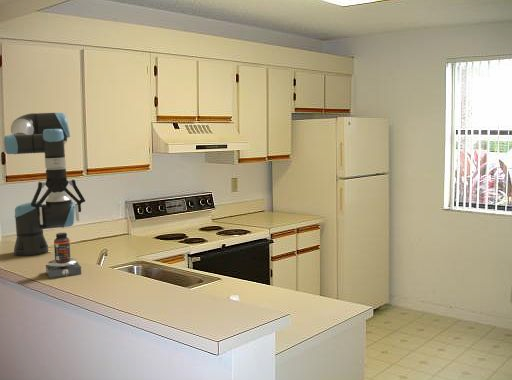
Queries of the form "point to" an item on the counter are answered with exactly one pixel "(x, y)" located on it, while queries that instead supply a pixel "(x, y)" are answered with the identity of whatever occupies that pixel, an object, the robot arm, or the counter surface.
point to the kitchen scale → (63, 268)
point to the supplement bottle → (62, 248)
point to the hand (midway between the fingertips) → (59, 222)
